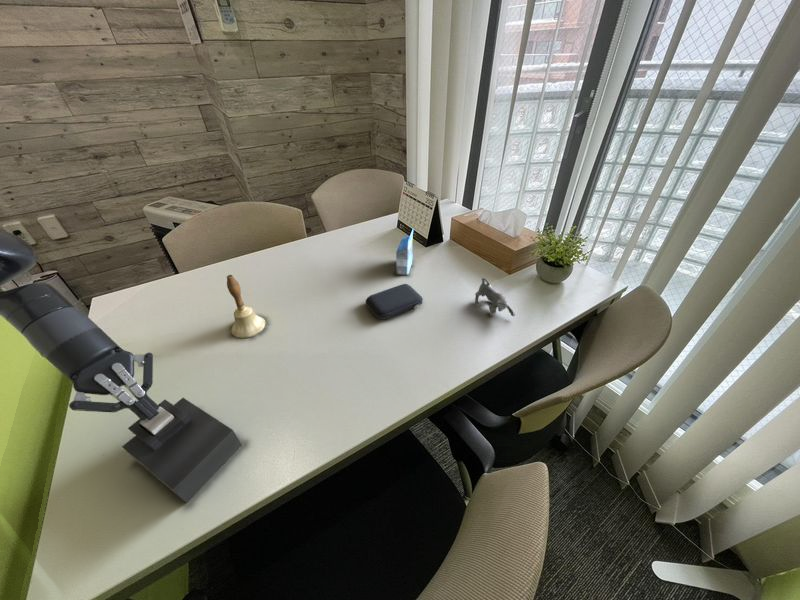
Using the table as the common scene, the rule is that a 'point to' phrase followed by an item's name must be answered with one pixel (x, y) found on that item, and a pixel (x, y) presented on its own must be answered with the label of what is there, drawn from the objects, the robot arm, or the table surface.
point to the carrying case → (394, 301)
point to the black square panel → (183, 448)
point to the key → (157, 421)
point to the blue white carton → (404, 255)
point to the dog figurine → (492, 298)
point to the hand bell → (243, 313)
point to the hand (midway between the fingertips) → (154, 416)
